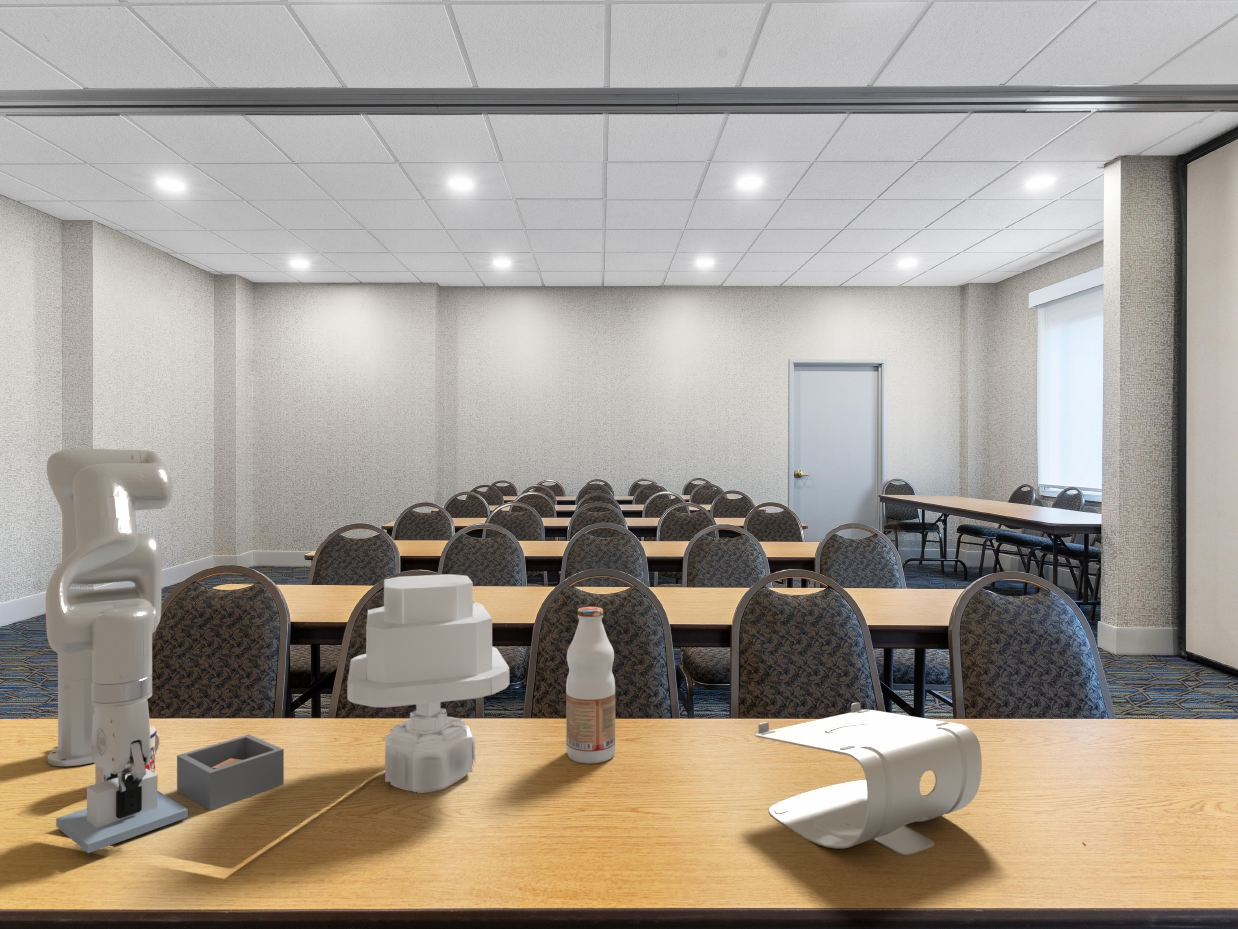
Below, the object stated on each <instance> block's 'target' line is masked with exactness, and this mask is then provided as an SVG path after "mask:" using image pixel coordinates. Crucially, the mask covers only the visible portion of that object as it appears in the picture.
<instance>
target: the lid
mask: <svg viewBox="0 0 1238 929" xmlns="http://www.w3.org/2000/svg"><path fill="white" fill-rule="evenodd" d="M145 770H146V775H145V776H144V777H143V778H142V781H143V784H142V810H141V811H140V812H138V813H135V814H132V815H129V816H126V817H123V818H120V819H119V818H117V817H116V791H119V782H118V778H114V779H111V780H108V781H104V782H101V783H98V784H95V783H94V784H91V785H88V786H86V808H84V809H80V810H78V811H75V812H70V813H68V814H65V815H62V816H59V817H56V818H55V821H56V822H55V824H56V826H55V827H56V828H58V829H59V830H60V831H61V832H63V834H64V835H66V836H67V837H68V838H69V839H70V840H71V841H73V842H74V843H75V844H77V846H78V847H80V848H81V849H82V850H83V851H84V852H86V853H87V854H90V853H92V852H94V851H98V850H100V849H101V850H102V849H103V848H106V847H109V846H112V845H115V844H117V843H120V842H123V841H126V840H128V839H131V838H134V837H136V836H140V835H142V834H145V833H149V832H150V831H153V830H156V829H158V828H162V827H165V826H167V825H170V824H173V823H175V822H178V821H181V820H184V819H187V818H189V815H188V814H189V812H188V808H186V807H185V806H183V805H182V804H180V803H179V802H177V801H175V800H173V799H172V798H170V797H168V796H167V795H165V794H164V793H162V792H161V791H159V790H158V776H159V775H158V774H156V772H155V773H153V772H151V771H150V770H148V769H145ZM128 775H131V774H128ZM128 775H125V780H126V778H127V776H128Z"/></svg>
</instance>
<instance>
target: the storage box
mask: <svg viewBox="0 0 1238 929" xmlns="http://www.w3.org/2000/svg"><path fill="white" fill-rule="evenodd" d="M284 750H285V749H284V748H282V747H279V746H278V745H275V744H272V743H270V742H268V741H265V740H263V739H261V738H259V737H255V736H254V735H251V734H245V735H242V736H237V737H235V738H231V739H229V740H225V741H221V742H218V743H215V744H212V745H208V746H204V747H201V748H197V749H194V750H191V751H188V752H187V751H186V752H184V753H181V754H177V755H176V792H177V793H179V794H180V795H182V796H183V797H185V798H187V799H189V800H190V801H193V802H194V803H195V804H197V805H198V806H201V807H202V808H204V809H206V810H208V811H209V812H213V811H215V810H218V809H221V808H223V807H226V806H229V805H231V804H235V803H237V802H241V801H243V800H246V799H249V798H251V797H253V796H257V795H259V794H263V793H265V792H267V791H268V792H269V791H270V790H273V789H276V788H279V787H281V786H284V785H285V784H284V783H285V782H284V781H285V780H284V779H285V778H284V776H285V772H284V770H285V768H284V764H285V762H284V758H285V757H284V756H285V755H284V754H285V752H284ZM231 758H232V759H239V760H242V761H238V762H235V763H232V764H229V765H226V766H223V767H220V768H217V769H212V767H214V766H216V765H218V764H220V763H222V762H224V761H226V760H228V759H231Z"/></svg>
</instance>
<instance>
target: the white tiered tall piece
mask: <svg viewBox="0 0 1238 929" xmlns="http://www.w3.org/2000/svg"><path fill="white" fill-rule="evenodd" d="M473 583H474V582H473V581H472V580H471V578H469V576H468V575H461V574H452V573H449V574H431V575H429V574H427V575H424V574H423V575H407V576H406V575H405V576H403V575H402V576H396V577H390V578H385V579H384V580H383V606H381V607H376V608H371V609H368V610H367V616H366V627H365V628H366V629H365V633H366V634H365V637H366V640H365V642H366V643H365V644H366V645H365V646H366V648H365V649H366V650H365V652H366V653H364V654H359V655H357V656H355V657H353V658H351V659H350V663H349V669H348V674H347V675H348V676H347V681H346V684H347V687H346V690H347V691H346V694H347V695H346V696H347V698H346V699H347V701H349V702H351V703H353V704H357V705H361V706H366V707H371V708H394V707H402V706H404V707H405V706H413V705H415V706H416V707H415V708H416V709H415V710H414V711H411V712H410V713H409V719H407V720H405V721H403V722H401V723H398V724H394V725H393V727H392V728H391V729H389V730H390V731H389V732H390V733H389V734H386V735H384V737H385V738H384V744H385V745H384V746H385V747H384V750H385V751H384V753H385V754H384V758H385V759H384V763H385V764H384V766H385V767H384V770H385V771H384V773H385V774H384V776H385V777H384V778H385V783H389V782H390V785H391V786H393V787H394V788H397V789H400V790H401V789H402V790H406V791H409V792H412V791H413V792H414V793H416V792H417V794H421V793H429V792H436V791H437V790H438V791H443V790H444V789H447V788H448V787H450V786H451V785H453V784H455V783H457V782H459V781H460V780H461V779H463V778H464V777H465V776H467V775H468V773H473V765H474V763H476V740H475V737H474V734H473V733H472V732H471V730H470V726H468V725H466V723H465V721H464V720H462V719H461V718H458V717H453V716H448V713H447V709H446V708H441V703H443V702H452V701H453V702H455V701H464V700H471V699H480V698H484V697H487V696H492V695H495V694H496V693H499V692H500V691H503V690H505V689H507V687H509V685H510V667H509V665H508V664H507V662H506V660H505V659H504V657H503V655H502V654H501V653H500V651H499V649H498V648H497V647H495V646H493V617H492V616H491V615H490V613H489V612H488V610H486V608H485V607H484V606H483V604H482V603H479V602H474V601H473V600H474V597H473V595H474V592H473V591H474V589H473V586H474V585H473Z"/></svg>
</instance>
